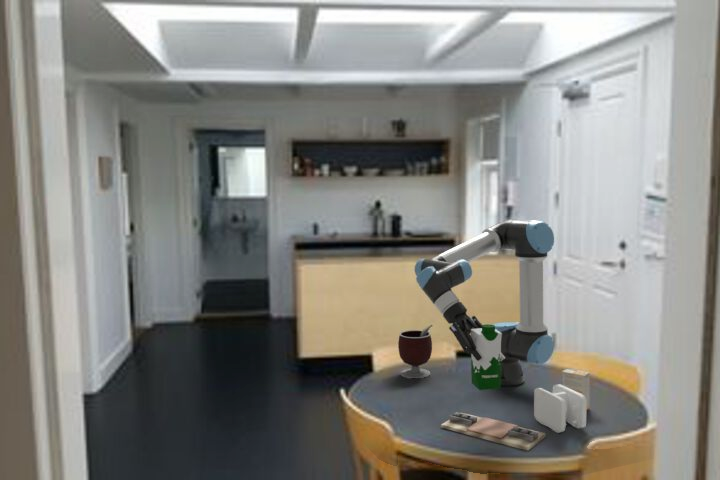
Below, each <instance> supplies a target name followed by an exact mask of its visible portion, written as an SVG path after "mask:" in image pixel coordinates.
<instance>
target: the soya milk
mask: <svg viewBox="0 0 720 480" xmlns="http://www.w3.org/2000/svg"><path fill="white" fill-rule="evenodd" d="M470 330H471V333H470V335H471V337H472V340H473V342H474V344H475V347H476V349H477V348H478V349H479V351H480V352H481V353H482V354H483V355H484V356H485V357H486V358H487V360H488V361H489V362H490V363H491V366H490V367H488V368H487V369H486V370H484V369H483V367H482V366H481V365H480V363H479V362H478V361H477V360H476V359H475V357H474V356H473V355H472V353H471V354H470V356H471V357H470V363H471V364H470V366H471V367H470V369H471V370H470V371H471V384H472V385H473V386H475V388H477V390H479V391H486V390H496V389H497V390H498V389H501V386H502V385H501V337H502V333H501V332H499V331H498V330H497V329H495V326H494V325H493V324H482V328H477V329H470Z"/></svg>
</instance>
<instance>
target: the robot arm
mask: <svg viewBox="0 0 720 480" xmlns="http://www.w3.org/2000/svg"><path fill="white" fill-rule="evenodd" d="M554 243H555V234H554V232H553V229H552V227H551V226H550V225H549V224H548V223H546V221H545V222H544V221H543V220H542V221H541V220H535V219H534V220H533V219H517V218H514V219H513V218H512V219H508V220H503V221H501V222H498V223H496V224H494V225H491V226H490V227H488V228H485V229H484V230H483V231H482V233H481V234H479V235H477V236H475V237H473V238H470V239H468V240H467V241H465V242H463V243H461V244H458V245H456V246H454V247H452V248H450V249H448V250H445V251H444V252H441V253H440V254H437V255H435V256H433V257H432V258H420V259H419V260H417V261H416V263H415V265H414V273H415V276H416V278H415V281H416V283H417V285H418V286H419V287H420V289H421V290H422V292H424V294H425V295H426V296H427V297H428V299H429V300H430V301H431V303H432V304H433V305H434V306H435V307H436V310H438V312H440V314H442V317H443V318H444V320H445V321H446V322H447V323H448V324H451V325H450V326H449V327H448V329H449V330H450V332H451V333H452V334H453V336H454V337H455V339H456V340H457V342H458V344H459V345H460V347H461V348H462V350H463V352H464V353H465V354H467V355H470V356H471V353H472V355H473V356H474V357H475V359H476V360H477V361H478V362H479V363H480V365H481V366H482V367H483V369H484V370H486V369H487V368H488V367H490V366H491V363H490V362H489V361H488V360H487V358H486V357H485V356H484V355H483V354H482V353H481V352H480V351H479V349H478V348H477V349H476V347H475V344H474V342H473V340H472V337H471V330H470V329H477V328H482V325H483V324H482V323H481V322H480V321H479V320H478V318H477V317H476V316H475V315H473V316H472V317H470V316H469V315H468V314H467V312H468V309H467V308H466V306H465V305H464V304H463V303H462V302H461V301H460V298H458V296H457V295H456V294H455V292H454V291H453V290H452V289H454V288H455V287H457V286H459V285H461V284H463V283H465V282H466V281H468V280H470V279H471V277H472V275H473V269H472V267H471V266H472V265H470V263H471V262H472V261H475V260H477V259H479V258H481V257H483V256H485V255H487V254H490V253H497V252H499V251H502V250H511V251H512V250H513V251H514V257H515V258H516V259H517V260H518V261H519V263H518V265H519V266H518V267H519V269H518V270H519V272H518V273H519V322H515V321H512V322H511V321H509V322H508V321H507V322H504V321H503V322H498V323H493V324H492V325H494V326H495V329H497V330H498V331H499V332H501V333H502V337H501V385H500V386H501V387H502V386H505V387H506V386H507V387H508V386H509V387H512V386H518V385H519V386H520V385H521V384H523V383H525V373H524V372H523V368H522V366H521V361H523V362H525V363H529V364H532V365H533V364H534V365H539V366H540V365H543V364H546V363H547V362H548V361H549V360H550V359H551V357H552V356H553V353H554V351H555V341H554V339H553V336H551V335H549V334H548V327H547V325H545V324H544V261H545V259H546V258H547V257H548V253H550V252H551V250H552V249H553V246H554Z"/></svg>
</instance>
